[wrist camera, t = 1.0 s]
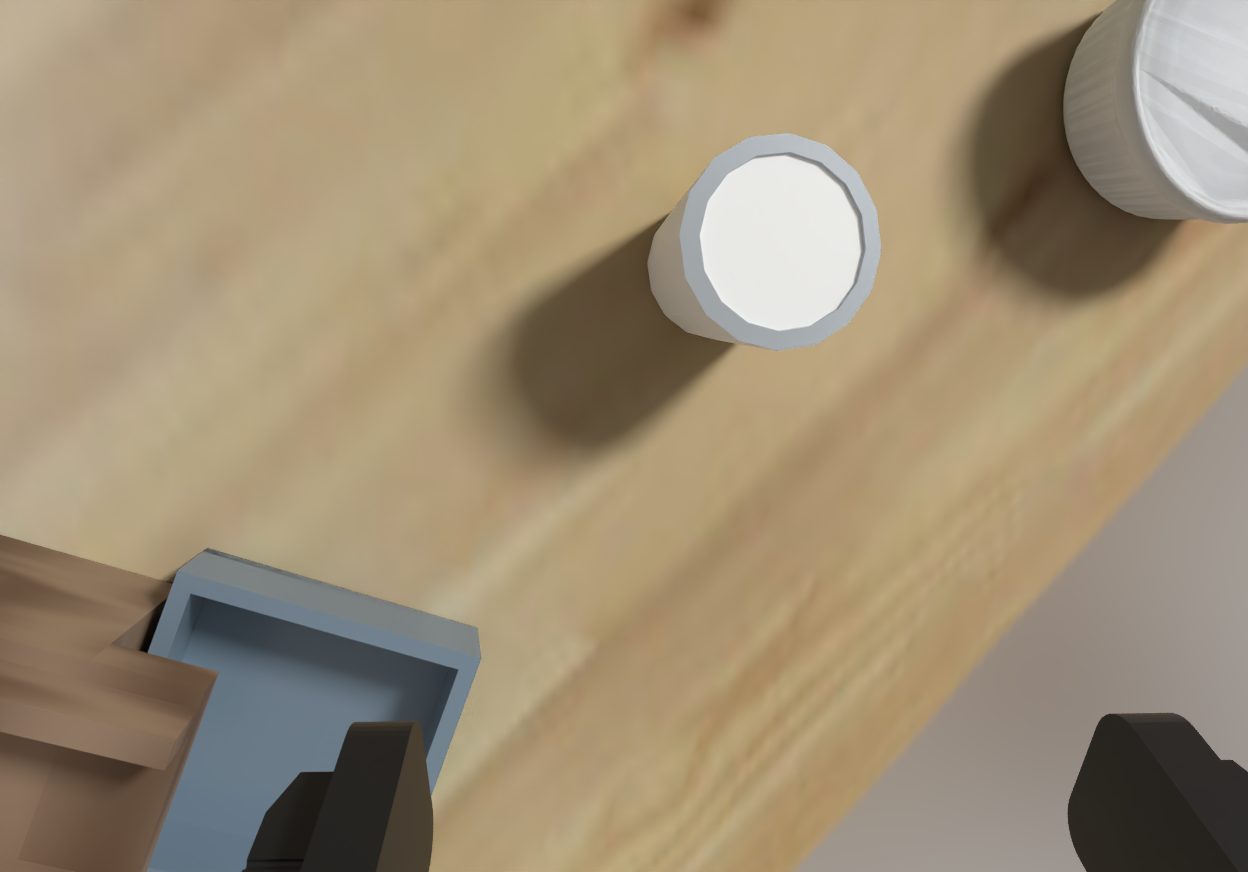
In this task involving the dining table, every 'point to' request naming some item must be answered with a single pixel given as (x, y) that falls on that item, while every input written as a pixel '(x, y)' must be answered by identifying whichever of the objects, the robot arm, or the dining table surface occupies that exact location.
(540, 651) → the dining table surface
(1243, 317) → the dining table surface
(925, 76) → the dining table surface
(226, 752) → the blue square tray
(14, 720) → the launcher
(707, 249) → the white cup
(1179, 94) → the ramekin
